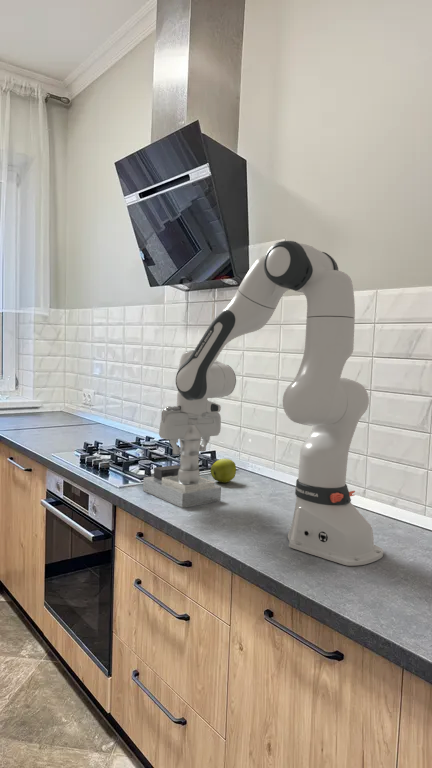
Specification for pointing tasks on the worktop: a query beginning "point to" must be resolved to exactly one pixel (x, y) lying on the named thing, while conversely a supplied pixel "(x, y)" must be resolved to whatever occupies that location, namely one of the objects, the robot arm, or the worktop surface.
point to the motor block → (180, 488)
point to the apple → (223, 470)
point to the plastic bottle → (190, 455)
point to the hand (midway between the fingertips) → (189, 452)
